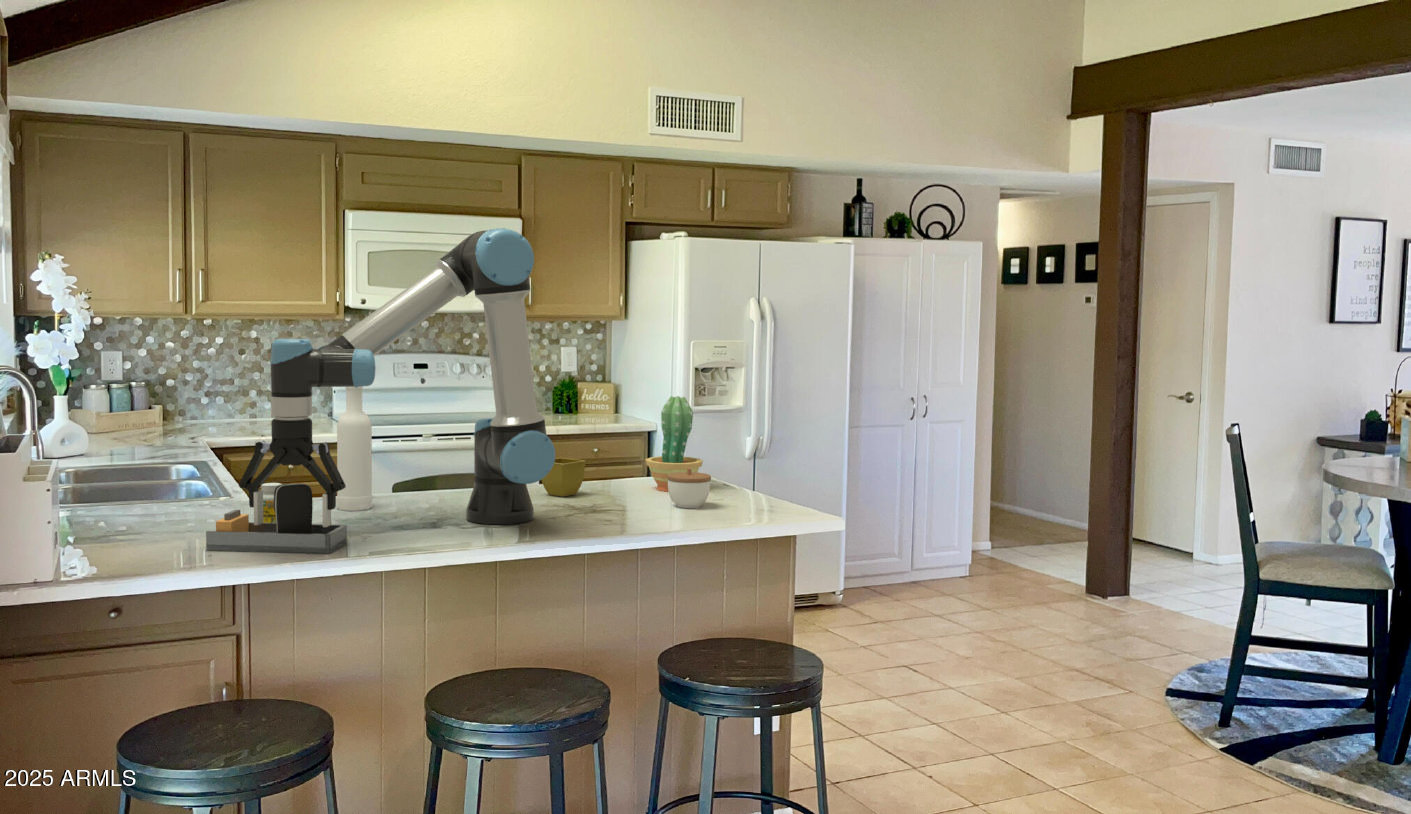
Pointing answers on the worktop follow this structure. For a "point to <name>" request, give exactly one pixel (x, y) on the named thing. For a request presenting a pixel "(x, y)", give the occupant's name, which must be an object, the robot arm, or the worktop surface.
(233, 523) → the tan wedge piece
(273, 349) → the robot arm
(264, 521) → the supplement bottle
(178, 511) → the worktop surface
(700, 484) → the lidded jar
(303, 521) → the battery charger
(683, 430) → the potted cactus
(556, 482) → the flower pot
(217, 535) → the tray
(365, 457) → the bottle
